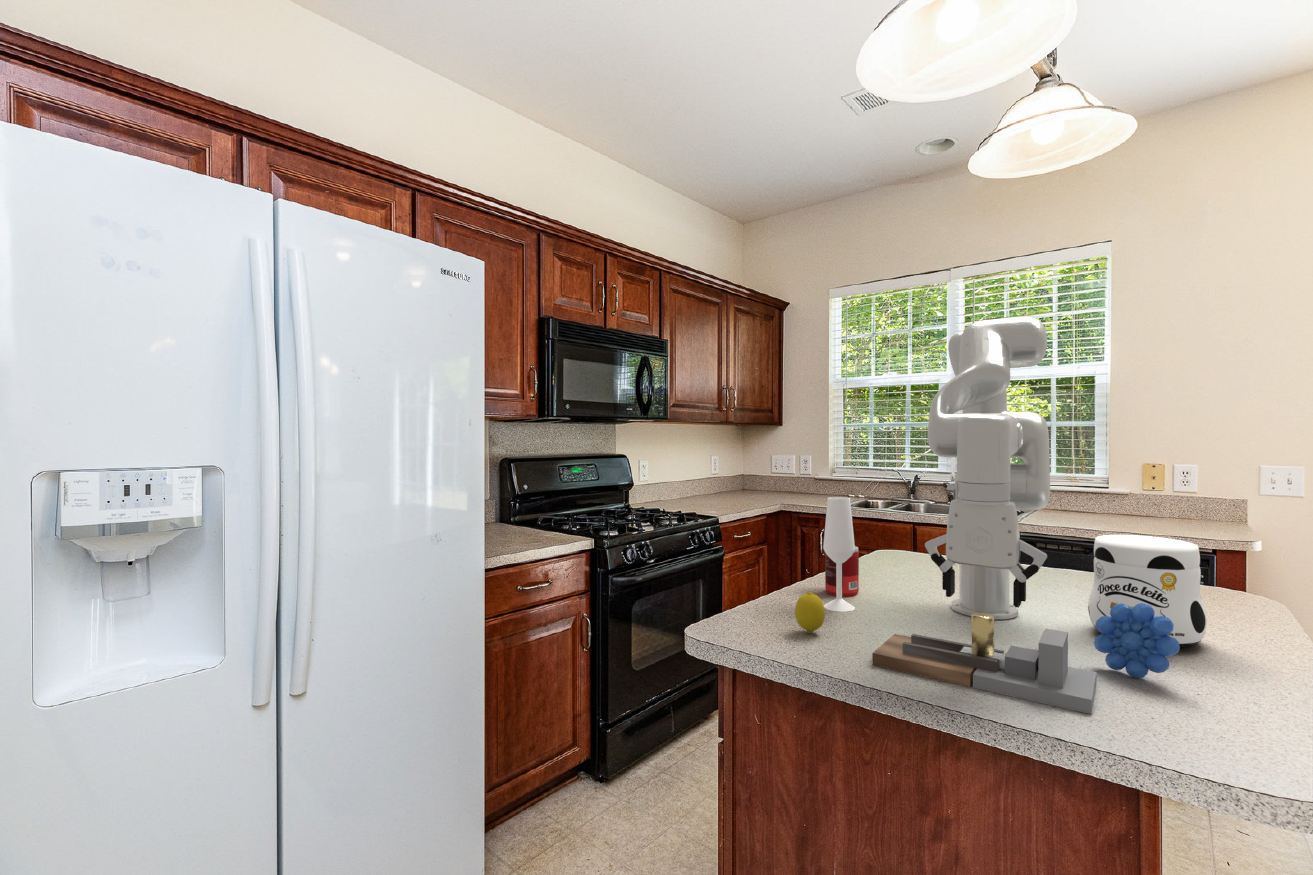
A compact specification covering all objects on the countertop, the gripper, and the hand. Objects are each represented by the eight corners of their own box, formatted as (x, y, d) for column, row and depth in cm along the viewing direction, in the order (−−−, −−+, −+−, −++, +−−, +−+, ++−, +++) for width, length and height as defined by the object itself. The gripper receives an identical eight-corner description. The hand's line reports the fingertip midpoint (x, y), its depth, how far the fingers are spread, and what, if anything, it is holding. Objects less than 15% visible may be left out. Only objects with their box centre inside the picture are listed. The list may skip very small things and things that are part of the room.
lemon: (825, 638, 117) (825, 596, 117) (795, 637, 118) (795, 595, 118) (823, 629, 123) (823, 588, 122) (795, 627, 124) (794, 587, 124)
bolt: (964, 655, 102) (964, 610, 102) (1035, 669, 96) (1035, 621, 96) (959, 661, 100) (959, 615, 100) (1032, 675, 94) (1032, 626, 94)
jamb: (987, 663, 104) (988, 615, 104) (1096, 685, 95) (1096, 633, 95) (972, 687, 95) (972, 635, 95) (1091, 714, 86) (1091, 656, 86)
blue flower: (1193, 685, 95) (1194, 607, 95) (1170, 694, 92) (1170, 613, 92) (1109, 660, 105) (1109, 589, 105) (1086, 667, 102) (1086, 594, 102)
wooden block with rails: (894, 644, 114) (894, 625, 114) (1007, 667, 103) (1007, 645, 103) (872, 665, 104) (872, 643, 104) (993, 692, 93) (993, 668, 93)
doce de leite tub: (1104, 648, 111) (1105, 547, 111) (1076, 619, 127) (1077, 531, 127) (1226, 660, 105) (1227, 553, 105) (1181, 628, 121) (1181, 536, 121)
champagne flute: (825, 601, 142) (824, 496, 141) (856, 604, 139) (855, 497, 139) (821, 609, 136) (821, 499, 135) (854, 613, 133) (853, 500, 133)
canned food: (859, 589, 152) (859, 544, 152) (858, 598, 144) (858, 551, 144) (826, 587, 154) (826, 543, 154) (824, 595, 147) (824, 549, 147)
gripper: (919, 492, 101) (919, 596, 102) (1044, 499, 91) (1043, 616, 91) (931, 487, 107) (931, 586, 108) (1049, 493, 97) (1049, 603, 97)
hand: (983, 599), depth 100 cm, fingers open, 9 cm apart
